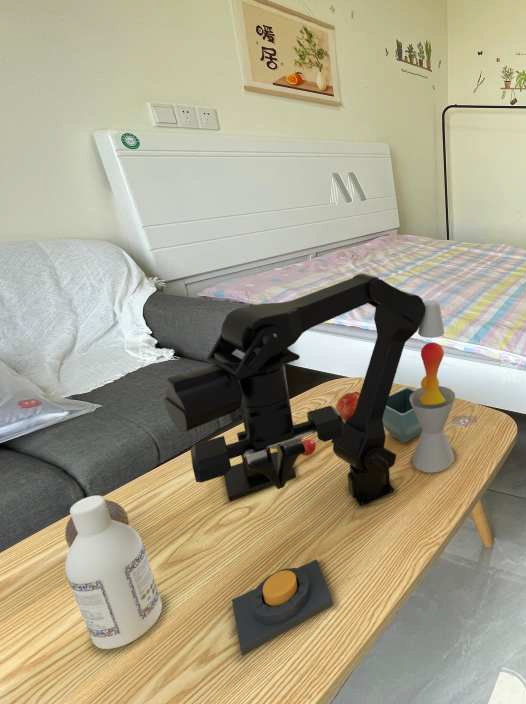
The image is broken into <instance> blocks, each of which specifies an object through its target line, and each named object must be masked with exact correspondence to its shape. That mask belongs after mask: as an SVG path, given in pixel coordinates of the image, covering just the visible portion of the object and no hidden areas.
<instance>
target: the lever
mask: <svg viewBox="0 0 526 704" xmlns="http://www.w3.org/2000/svg"><path fill="white" fill-rule="evenodd" d="M246 439H248V434H247V437H246ZM302 443H303V445H304V447H305V452H304V453H303V454H301V455H302V456H306V457H307V456H311V455H312V454H313V453H315V452H316V448H317V444H316V442H315V441H314V440H312V439H308V438H307V439H303V440H302ZM270 449H273V450H277V445H276V446H273V447H270Z"/></svg>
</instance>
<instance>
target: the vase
mask: <svg viewBox="0 0 526 704" xmlns="http://www.w3.org/2000/svg"><path fill="white" fill-rule="evenodd" d="M105 502H106V505H107V508H108V511H109V514H110V518H111V520H115V521H118V522H121V523H124V524H126V525H128V526H130V521H129V516H128V513H127V511H126V510H125V508H124V507H123V506H122V505H120V503H118V502H115V501H112V500H108V499H105ZM77 535H78V532H77V530H76V527H75V525H74V522H73V519H72V517H71V516H70V518H69V519H68V522H66V527H65V532H64V537H65V538H64V539H65V541H66V544H67V546H68V547H69V548H70V547H71V545H72V543H73V542H74V540H75V538H76V536H77Z"/></svg>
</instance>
